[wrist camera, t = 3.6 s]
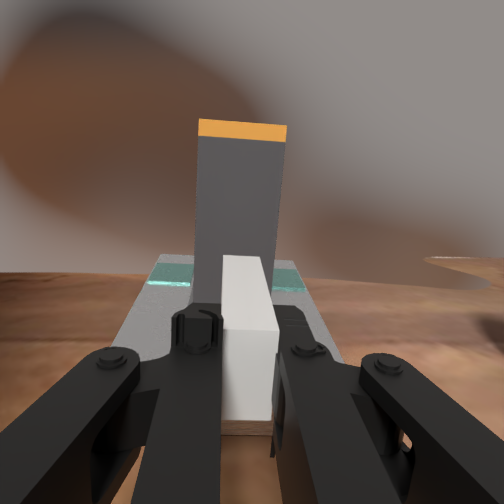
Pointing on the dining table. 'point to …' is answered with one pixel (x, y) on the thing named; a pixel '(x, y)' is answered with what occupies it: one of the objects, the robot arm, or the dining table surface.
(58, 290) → the dining table surface
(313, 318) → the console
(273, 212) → the fader knob
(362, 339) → the dining table surface
